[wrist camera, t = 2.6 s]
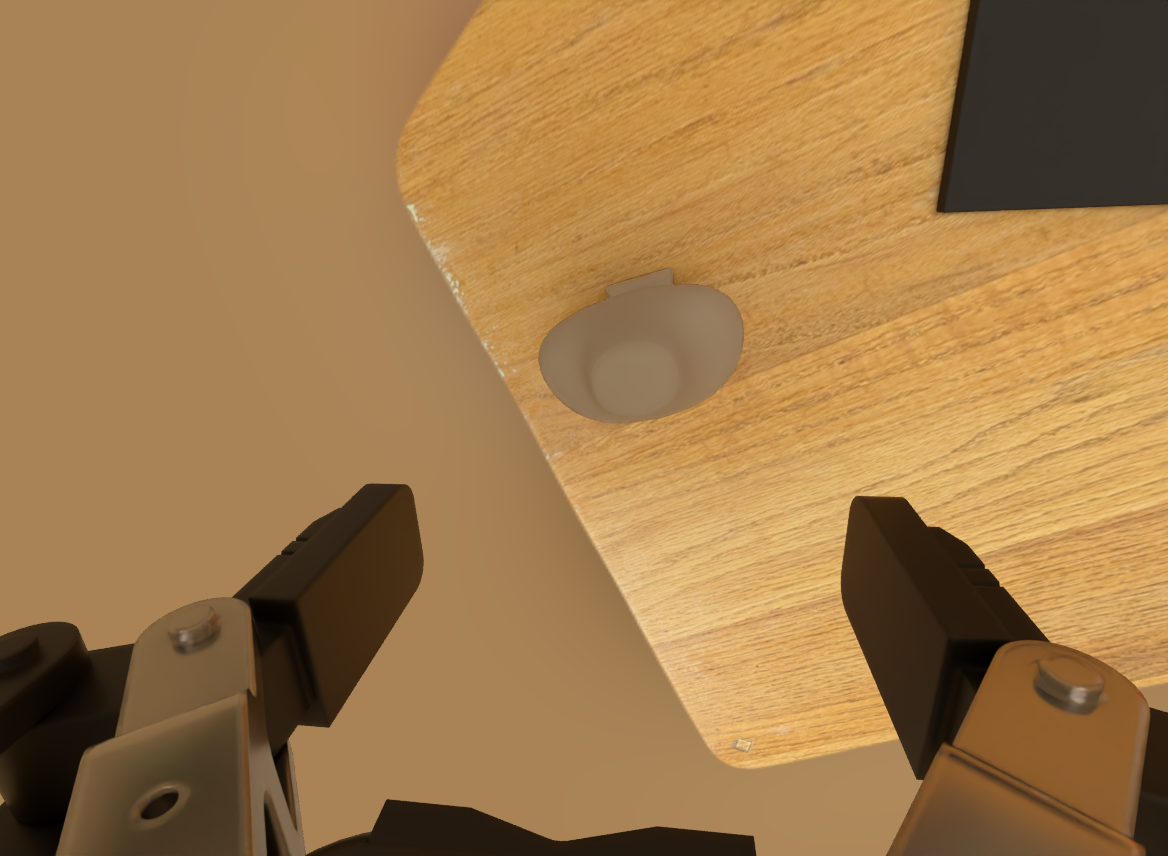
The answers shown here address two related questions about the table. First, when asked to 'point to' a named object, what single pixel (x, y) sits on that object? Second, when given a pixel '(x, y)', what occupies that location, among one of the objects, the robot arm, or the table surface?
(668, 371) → the grey rounded body
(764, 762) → the table surface
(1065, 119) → the mat
